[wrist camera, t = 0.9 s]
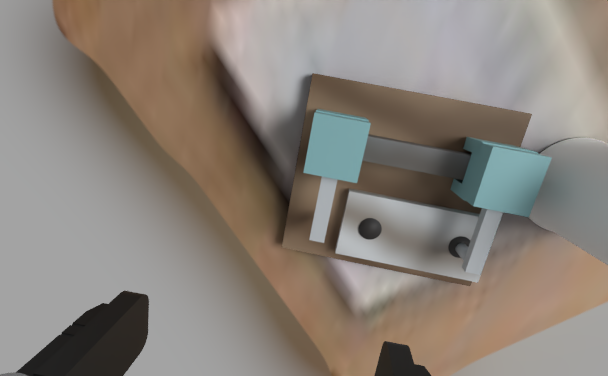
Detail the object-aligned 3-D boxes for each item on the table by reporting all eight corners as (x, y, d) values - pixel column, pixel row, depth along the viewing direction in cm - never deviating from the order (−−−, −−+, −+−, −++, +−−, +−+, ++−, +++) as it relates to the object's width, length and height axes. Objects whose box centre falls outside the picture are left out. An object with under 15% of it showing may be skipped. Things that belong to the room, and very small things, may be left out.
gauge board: (313, 74, 29) (311, 71, 26) (523, 113, 28) (547, 115, 25) (283, 242, 33) (278, 256, 30) (465, 279, 33) (478, 298, 30)
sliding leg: (318, 108, 28) (314, 111, 24) (365, 117, 28) (371, 121, 24) (297, 218, 31) (290, 240, 26) (340, 226, 31) (341, 250, 26)
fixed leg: (466, 136, 28) (493, 145, 23) (515, 146, 28) (552, 156, 23) (432, 245, 31) (450, 273, 26) (476, 254, 31) (502, 283, 26)
